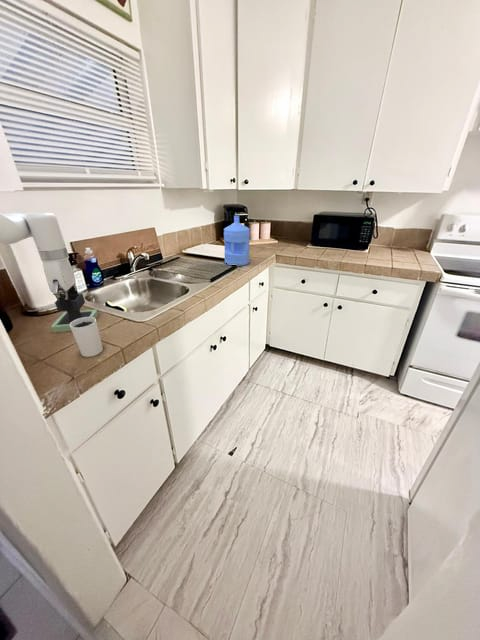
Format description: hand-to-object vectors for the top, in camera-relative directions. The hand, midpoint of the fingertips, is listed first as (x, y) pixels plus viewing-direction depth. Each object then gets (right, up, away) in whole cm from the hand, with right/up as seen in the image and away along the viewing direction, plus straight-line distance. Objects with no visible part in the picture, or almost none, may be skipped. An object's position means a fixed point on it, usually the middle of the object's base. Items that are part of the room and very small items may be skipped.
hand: (71, 305), depth 91 cm
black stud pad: (0, -5, +3) cm, 6 cm away
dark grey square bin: (0, -1, 0) cm, 1 cm away
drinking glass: (+14, -15, -12) cm, 24 cm away
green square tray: (0, -6, +3) cm, 7 cm away
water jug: (+57, +31, +73) cm, 98 cm away
